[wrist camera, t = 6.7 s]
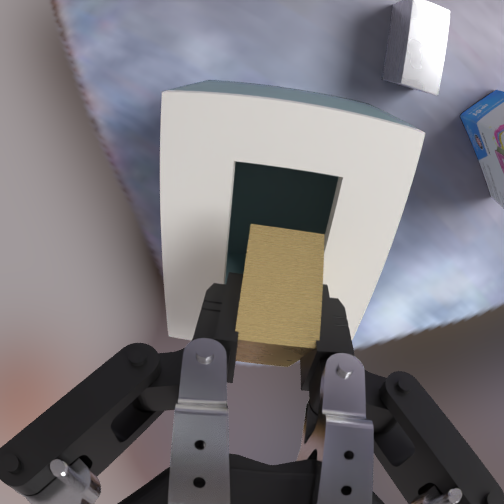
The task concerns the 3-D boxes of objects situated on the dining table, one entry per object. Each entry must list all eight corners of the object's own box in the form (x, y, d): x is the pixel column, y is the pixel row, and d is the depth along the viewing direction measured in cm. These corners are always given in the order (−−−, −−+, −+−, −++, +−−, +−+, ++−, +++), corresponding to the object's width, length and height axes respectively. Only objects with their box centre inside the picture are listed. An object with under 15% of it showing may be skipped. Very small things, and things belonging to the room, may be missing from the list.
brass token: (244, 283, 17) (233, 360, 15) (250, 223, 11) (233, 339, 10) (294, 289, 17) (287, 366, 15) (324, 234, 11) (318, 348, 9)
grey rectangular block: (381, 79, 19) (401, 83, 15) (391, 5, 16) (413, -5, 12) (413, 89, 19) (437, 95, 15) (424, 16, 15) (450, 10, 12)
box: (209, 80, 20) (162, 91, 12) (367, 103, 20) (425, 133, 12) (199, 251, 27) (168, 336, 19) (327, 268, 27) (343, 357, 19)
